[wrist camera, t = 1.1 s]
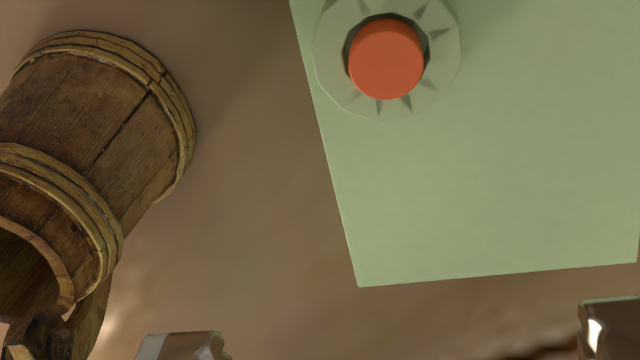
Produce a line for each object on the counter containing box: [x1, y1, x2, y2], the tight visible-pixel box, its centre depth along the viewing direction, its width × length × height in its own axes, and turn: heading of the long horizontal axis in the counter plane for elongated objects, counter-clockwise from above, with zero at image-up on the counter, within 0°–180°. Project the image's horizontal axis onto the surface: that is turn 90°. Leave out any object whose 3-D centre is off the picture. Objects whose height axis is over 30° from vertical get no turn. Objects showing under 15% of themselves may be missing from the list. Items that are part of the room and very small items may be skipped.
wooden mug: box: [0, 31, 196, 360], centre depth 24 cm, size 9×14×18 cm, turn 8°
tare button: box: [348, 18, 424, 100], centre depth 23 cm, size 3×3×1 cm
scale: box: [289, 0, 640, 287], centre depth 27 cm, size 16×14×4 cm
